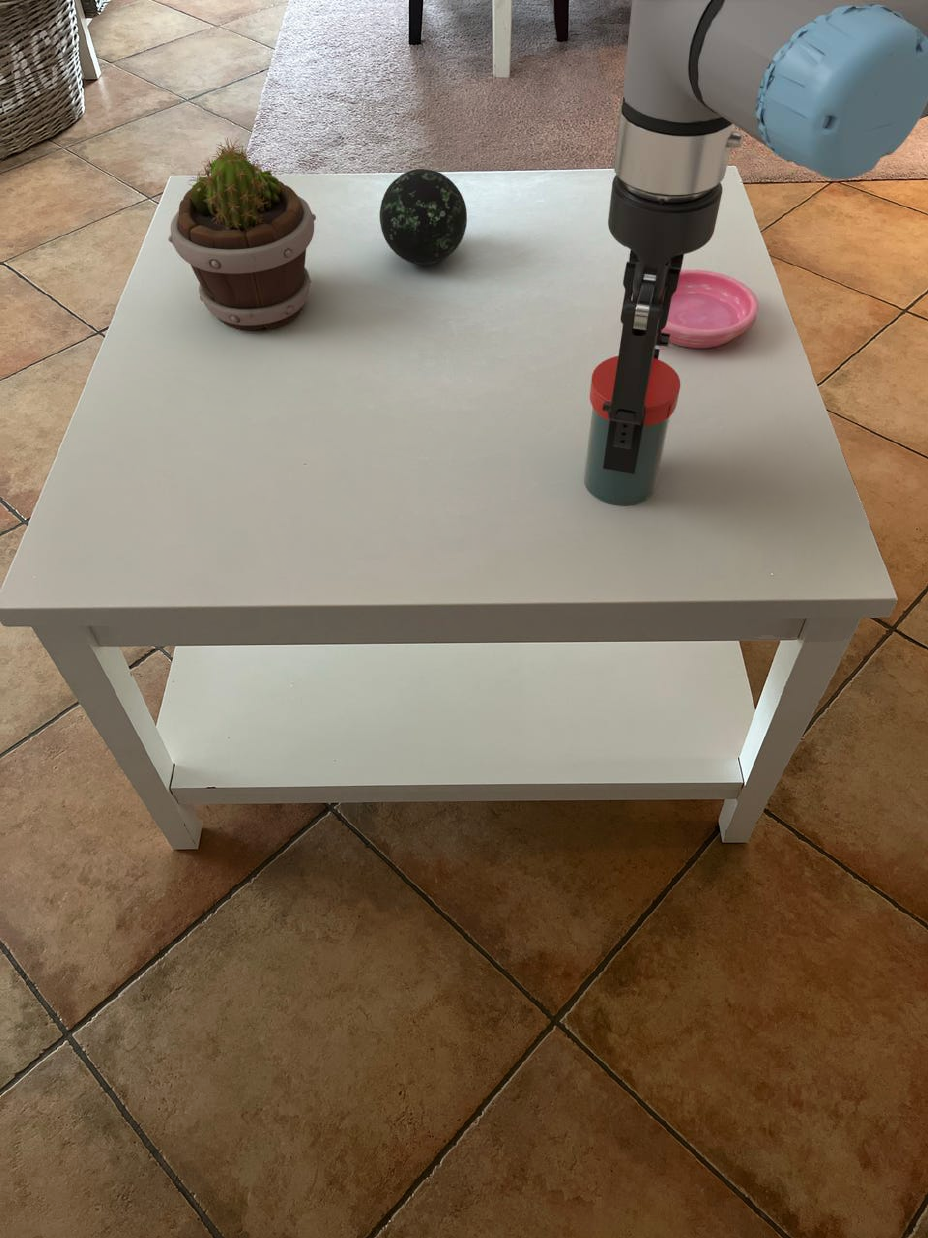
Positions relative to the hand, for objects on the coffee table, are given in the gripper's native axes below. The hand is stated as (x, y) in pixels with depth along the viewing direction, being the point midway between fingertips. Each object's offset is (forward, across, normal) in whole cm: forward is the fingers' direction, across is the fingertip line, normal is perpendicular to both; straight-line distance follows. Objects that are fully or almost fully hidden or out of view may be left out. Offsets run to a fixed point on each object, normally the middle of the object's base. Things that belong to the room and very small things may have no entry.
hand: (626, 438), depth 80 cm
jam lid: (-6, 0, 0) cm, 6 cm away
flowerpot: (+5, +18, +44) cm, 48 cm away
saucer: (+5, +27, -4) cm, 27 cm away
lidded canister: (+5, 0, 0) cm, 5 cm away
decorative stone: (+5, +33, +28) cm, 44 cm away
